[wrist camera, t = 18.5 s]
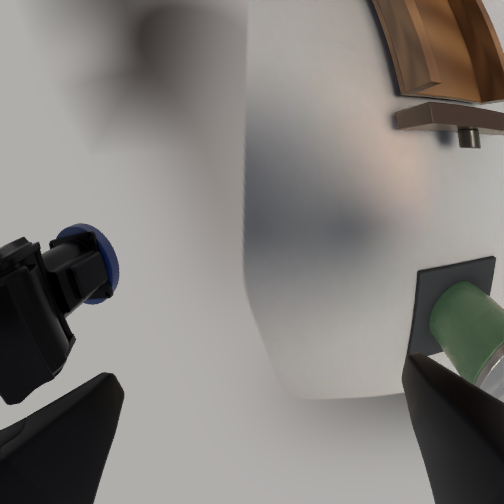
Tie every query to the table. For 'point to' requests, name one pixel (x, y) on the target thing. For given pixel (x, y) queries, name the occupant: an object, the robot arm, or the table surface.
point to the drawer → (446, 65)
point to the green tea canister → (471, 335)
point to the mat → (434, 286)
